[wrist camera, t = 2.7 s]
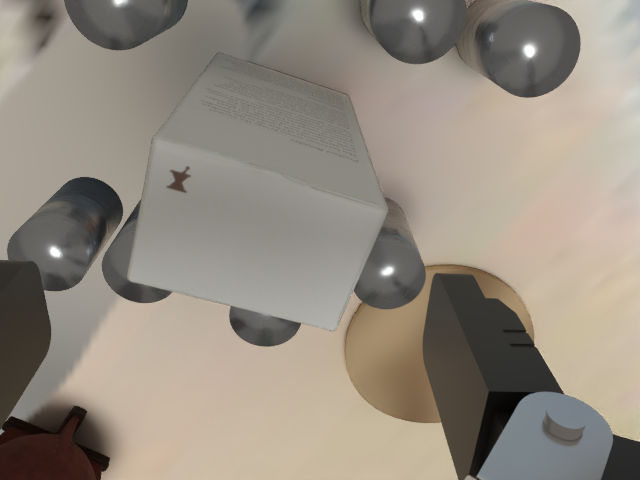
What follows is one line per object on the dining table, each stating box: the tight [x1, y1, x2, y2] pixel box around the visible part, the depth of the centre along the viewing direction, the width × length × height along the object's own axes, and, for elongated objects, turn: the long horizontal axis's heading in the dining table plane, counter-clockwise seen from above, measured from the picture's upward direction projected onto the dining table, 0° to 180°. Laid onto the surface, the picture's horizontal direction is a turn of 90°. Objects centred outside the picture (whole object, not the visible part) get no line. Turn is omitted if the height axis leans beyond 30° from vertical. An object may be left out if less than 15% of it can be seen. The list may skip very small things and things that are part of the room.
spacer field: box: [7, 0, 580, 346], centre depth 23 cm, size 20×17×5 cm
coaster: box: [345, 265, 534, 423], centre depth 31 cm, size 10×10×1 cm
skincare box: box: [127, 52, 388, 331], centre depth 20 cm, size 6×4×12 cm
